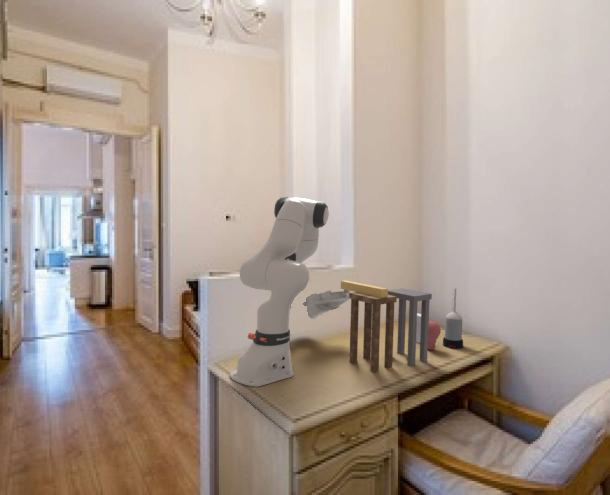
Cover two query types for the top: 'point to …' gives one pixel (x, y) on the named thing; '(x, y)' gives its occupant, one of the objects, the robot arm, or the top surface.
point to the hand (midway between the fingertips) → (339, 291)
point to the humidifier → (453, 329)
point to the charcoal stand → (412, 322)
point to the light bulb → (433, 334)
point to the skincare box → (418, 328)
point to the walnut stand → (373, 320)
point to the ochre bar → (365, 289)
